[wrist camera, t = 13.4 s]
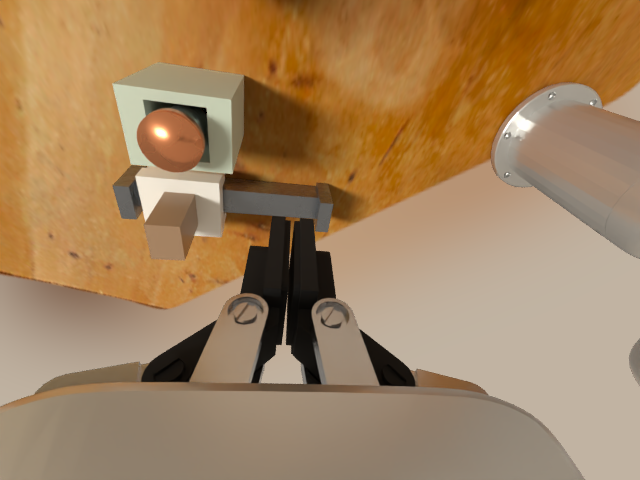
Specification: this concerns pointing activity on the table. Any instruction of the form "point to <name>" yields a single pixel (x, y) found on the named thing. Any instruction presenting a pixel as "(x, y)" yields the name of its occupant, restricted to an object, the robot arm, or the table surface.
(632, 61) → the table surface
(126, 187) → the rail
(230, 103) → the pale green open box
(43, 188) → the table surface
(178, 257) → the carriage
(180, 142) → the jar with copper lid
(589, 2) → the table surface
